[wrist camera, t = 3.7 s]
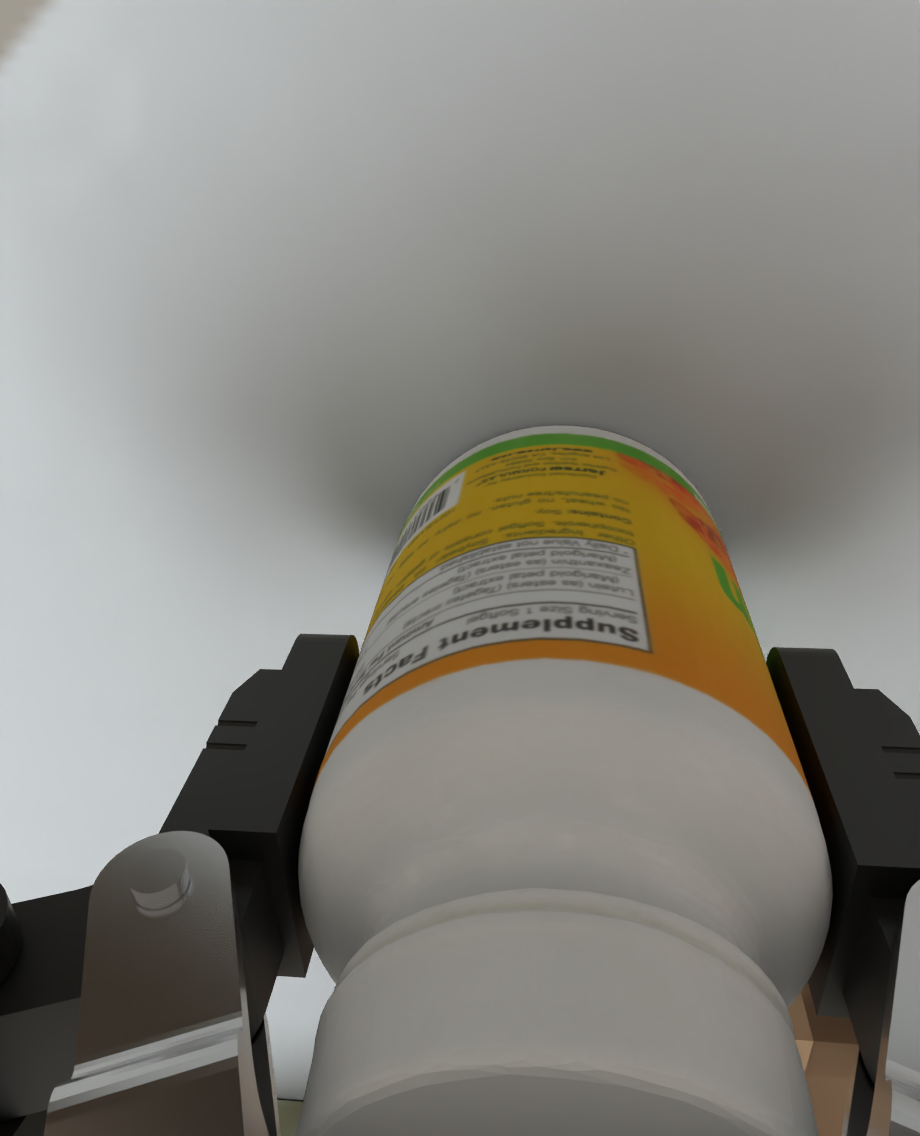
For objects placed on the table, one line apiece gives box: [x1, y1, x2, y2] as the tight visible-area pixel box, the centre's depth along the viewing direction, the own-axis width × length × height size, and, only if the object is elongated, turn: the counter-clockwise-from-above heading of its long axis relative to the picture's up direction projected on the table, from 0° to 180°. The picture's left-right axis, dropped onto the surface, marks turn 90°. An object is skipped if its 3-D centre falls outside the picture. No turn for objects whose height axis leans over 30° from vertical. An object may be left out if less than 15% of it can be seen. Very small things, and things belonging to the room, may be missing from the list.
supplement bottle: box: [295, 425, 833, 1136], centre depth 10 cm, size 5×5×10 cm
